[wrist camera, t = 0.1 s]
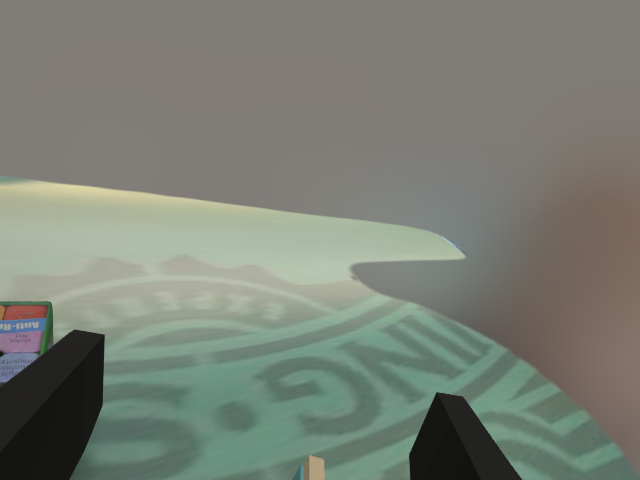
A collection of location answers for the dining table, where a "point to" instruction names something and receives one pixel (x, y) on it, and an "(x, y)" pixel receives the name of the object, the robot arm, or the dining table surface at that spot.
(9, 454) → the robot arm
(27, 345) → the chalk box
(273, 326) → the dining table surface
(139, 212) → the dining table surface
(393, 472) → the dining table surface
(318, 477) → the lid
